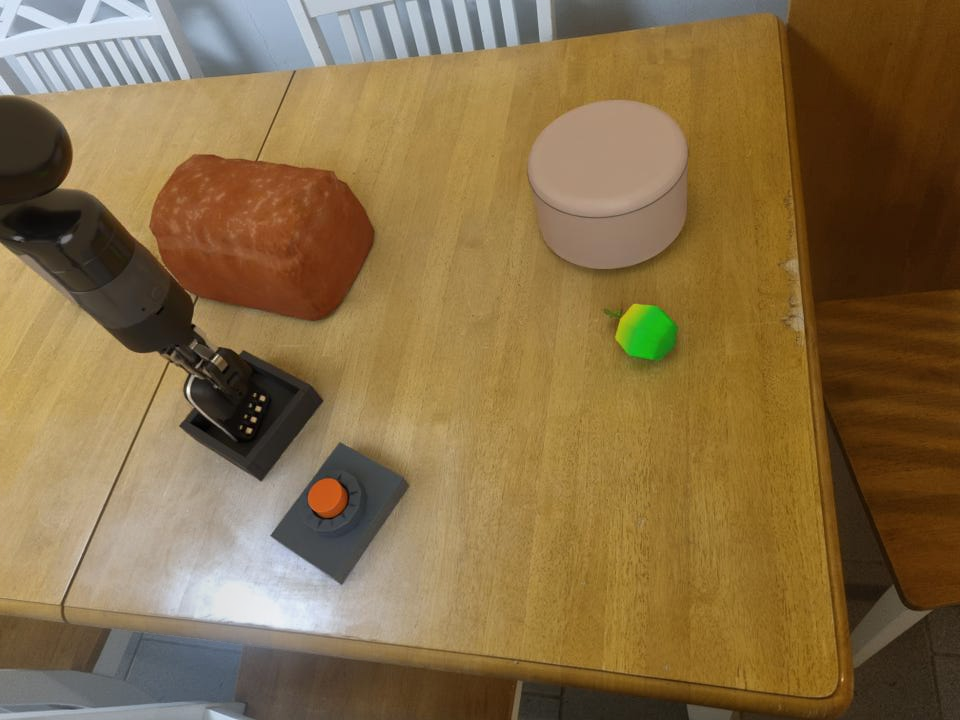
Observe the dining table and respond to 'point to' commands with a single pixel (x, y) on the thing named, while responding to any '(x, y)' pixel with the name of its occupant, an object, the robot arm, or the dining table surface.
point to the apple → (645, 331)
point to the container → (610, 183)
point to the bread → (261, 234)
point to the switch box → (342, 513)
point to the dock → (279, 425)
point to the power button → (327, 498)
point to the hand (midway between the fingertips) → (224, 387)
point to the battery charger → (229, 404)
